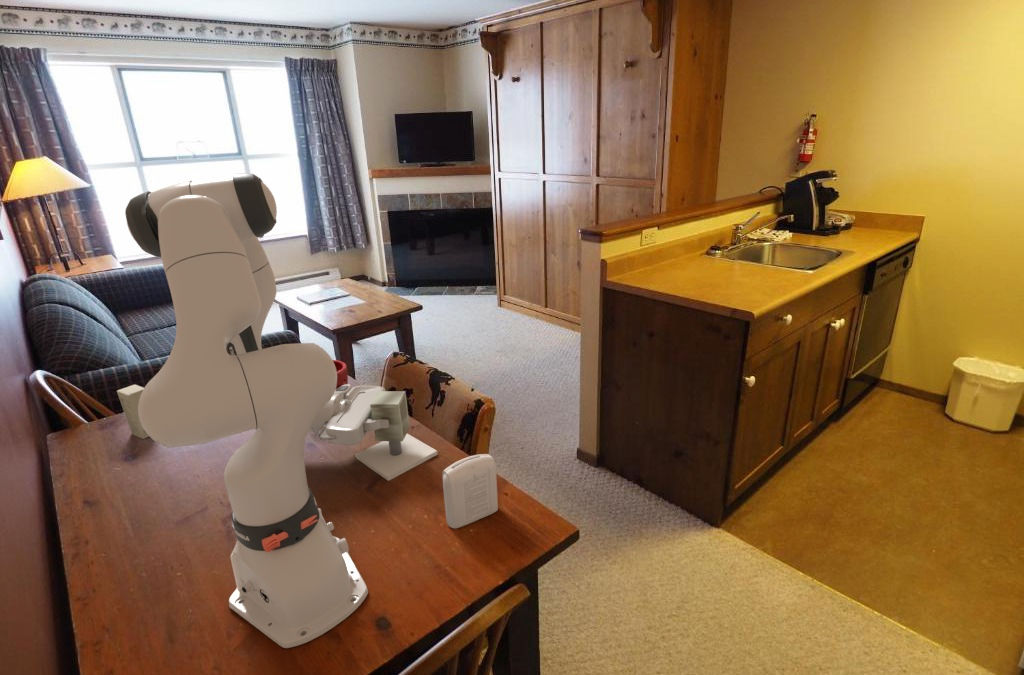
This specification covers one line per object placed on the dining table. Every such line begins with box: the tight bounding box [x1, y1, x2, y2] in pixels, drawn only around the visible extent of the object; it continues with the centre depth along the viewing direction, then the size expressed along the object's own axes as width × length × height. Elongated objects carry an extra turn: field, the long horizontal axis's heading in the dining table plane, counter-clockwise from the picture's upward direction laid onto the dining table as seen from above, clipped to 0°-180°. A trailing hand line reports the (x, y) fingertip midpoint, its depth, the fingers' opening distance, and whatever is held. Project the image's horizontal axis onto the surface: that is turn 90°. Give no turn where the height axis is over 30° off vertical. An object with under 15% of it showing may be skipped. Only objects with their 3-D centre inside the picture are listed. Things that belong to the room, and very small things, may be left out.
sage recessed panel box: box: [370, 390, 410, 442], centre depth 118 cm, size 6×6×9 cm
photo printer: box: [441, 453, 499, 529], centre depth 99 cm, size 10×4×12 cm, turn 122°
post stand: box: [354, 433, 438, 482], centre depth 120 cm, size 13×13×8 cm
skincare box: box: [116, 384, 150, 440], centre depth 134 cm, size 6×4×12 cm
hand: (394, 414), depth 118 cm, fingers closed on sage recessed panel box, 6 cm apart
